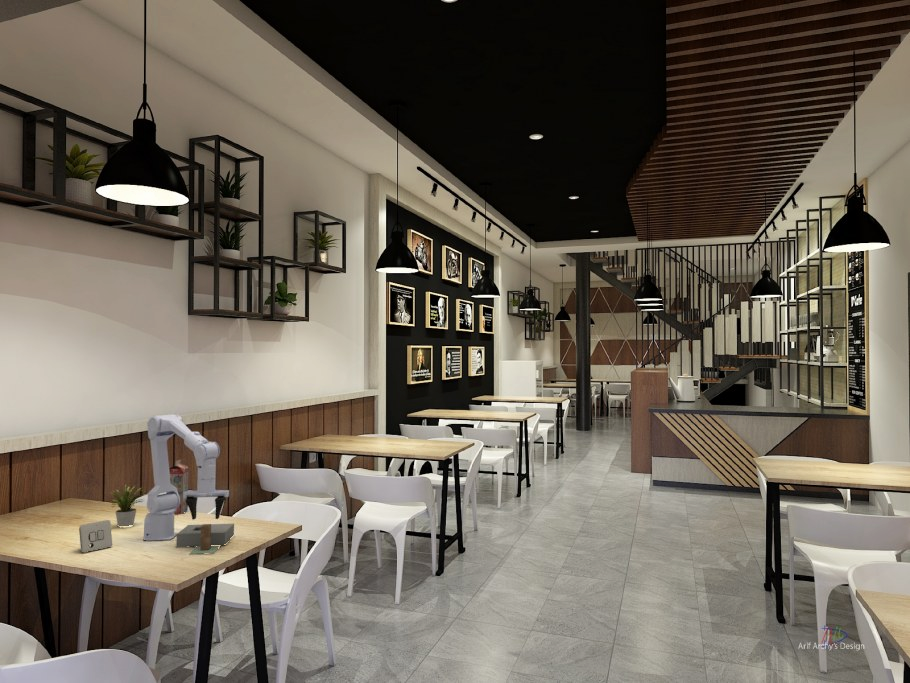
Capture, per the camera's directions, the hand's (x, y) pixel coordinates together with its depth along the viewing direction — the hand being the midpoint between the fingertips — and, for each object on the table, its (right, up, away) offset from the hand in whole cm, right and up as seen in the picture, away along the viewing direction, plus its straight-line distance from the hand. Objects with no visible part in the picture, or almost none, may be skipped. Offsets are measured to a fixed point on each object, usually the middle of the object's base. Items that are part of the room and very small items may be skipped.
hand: (205, 518), depth 206 cm
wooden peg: (+2, -9, -4) cm, 10 cm away
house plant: (-42, -11, +25) cm, 50 cm away
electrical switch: (-37, -10, -2) cm, 38 cm away
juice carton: (-32, -12, +48) cm, 60 cm away
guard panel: (-3, -10, +6) cm, 12 cm away
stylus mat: (+2, -10, -4) cm, 11 cm away
